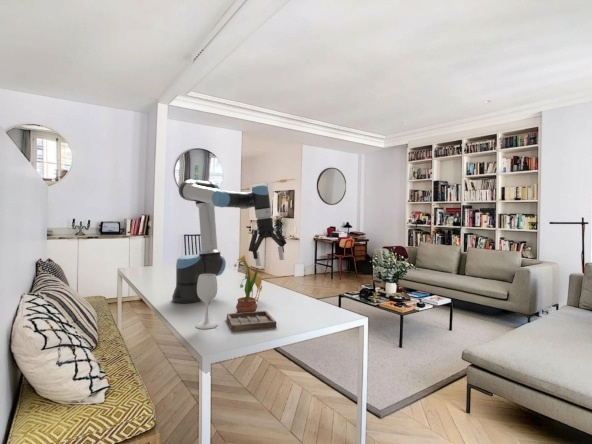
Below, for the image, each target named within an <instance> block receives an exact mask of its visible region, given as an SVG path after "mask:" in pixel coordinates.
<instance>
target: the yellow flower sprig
mask: <svg viewBox="0 0 592 444" xmlns="http://www.w3.org/2000/svg"><path fill="white" fill-rule="evenodd" d="M243 259H244V260H243ZM241 260H242V261H245V262H246V263H247V261H246V255H245V254H243V256H240V257H239V258H237V261H238V262H240V261H241ZM243 263H244V262H242V264H243ZM244 265H246V264H245V263H244V264H243V266H244ZM244 267H246V266H244ZM246 268H247V267H246ZM247 271H248V270H247ZM244 273H245V274H246V273H247V272H244ZM249 273H250V282H251V281H252V279H253V277H254V274H255V272H254V271H252V270H250V268H249ZM247 275H248V273H247ZM262 281H263V278H262V276H261V275H260V274H258V273H257V276H256V280H255V283H254V286H256V288H257V289H256V293H255V297H254V298H255V299H256V302H257V301H258V300H259V299H260V293H261V292H262V290H263V285H262ZM253 295H254V287H253V288H252V291H251V294H250V295H249V297H253Z"/></svg>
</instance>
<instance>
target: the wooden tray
mask: <svg viewBox="0 0 592 444" xmlns="http://www.w3.org/2000/svg"><path fill="white" fill-rule="evenodd" d="M225 318H226V321H227V324H228V326H229V328H230V330H231V332H232V333H233V332H234V333H236V332H237V333H238V332H245V331H246V332H247V331H255V330H264V329H265V330H266V329H267V330H268V329H269V330H270V329H276V328H277V321H276V319H275V318H274V317H273V316H272V315H271V314H270V313H269V312H268V311H267V310H260V311H257V310H256V311H254V312H244V313H241V312H235V313H234V312H231V313H226V317H225Z"/></svg>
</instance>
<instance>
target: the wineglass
mask: <svg viewBox="0 0 592 444" xmlns="http://www.w3.org/2000/svg"><path fill="white" fill-rule="evenodd" d="M217 294H218V280H217V276H216V275H215V274H201V275H199V278H198V283H197V295H198V297H199V298H200V299H201V302H204V305H205V315H204V316H205V317H204V321H201V322H198V323H196V324H195V328H196V329H200V330H210V329H214V328H216V327H217V326H218V323H217V322H214V321H210V320H209V304H210V302H211V301H213V300H214V299H215V298H216V296H217Z"/></svg>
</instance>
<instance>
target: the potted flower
mask: <svg viewBox="0 0 592 444" xmlns="http://www.w3.org/2000/svg"><path fill="white" fill-rule="evenodd" d="M243 260H244V259H243ZM243 262H244V263H245V264H246V265H244V263H243ZM237 263H238V264H237ZM241 263H242V264H241ZM240 265H241V268H240ZM244 266H246V267H247V268H246V267H244ZM233 267H234V268H236V267H237V272H238V273H241V272H242V271H243V272H244V273H245V272H247V273H248V275H247V273H245V275H244V278H243V279H242V281H244V280H246V281H245V285H244V284H243V282H241V283H240V284H239V288H240V289H241V288H244V293H245V296H244V297H239V298H237V303H236V306H235V308H236V309H235V310H237V311H238V313H244V312H257V309H258V305H257V303H256V302H257V301H256V300H257V298H256V299H255V297H253V296H251V294H252V288H253V289H254V286H255V280H256V276H257V274H258V271H259V267H256V269H255V272H254V273H255V274H254V277H253V279H252V281H251V282H250V273H249V269H250V267H249V264H248V263H247V261H246V262H245V261H242V260H239V261H238V262H236V263H234V264H233ZM247 270H248V271H247ZM249 295H250V297H249Z"/></svg>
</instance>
